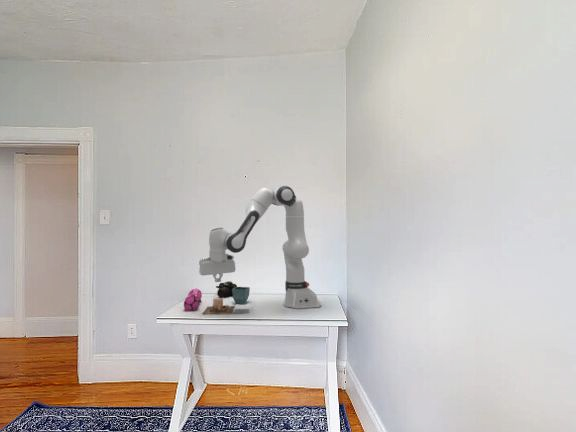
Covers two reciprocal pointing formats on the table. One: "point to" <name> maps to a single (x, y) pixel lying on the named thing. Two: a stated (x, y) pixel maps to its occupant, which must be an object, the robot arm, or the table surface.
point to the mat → (241, 311)
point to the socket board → (225, 310)
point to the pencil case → (193, 300)
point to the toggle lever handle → (218, 303)
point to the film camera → (225, 289)
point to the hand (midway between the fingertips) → (217, 281)
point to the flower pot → (240, 294)
